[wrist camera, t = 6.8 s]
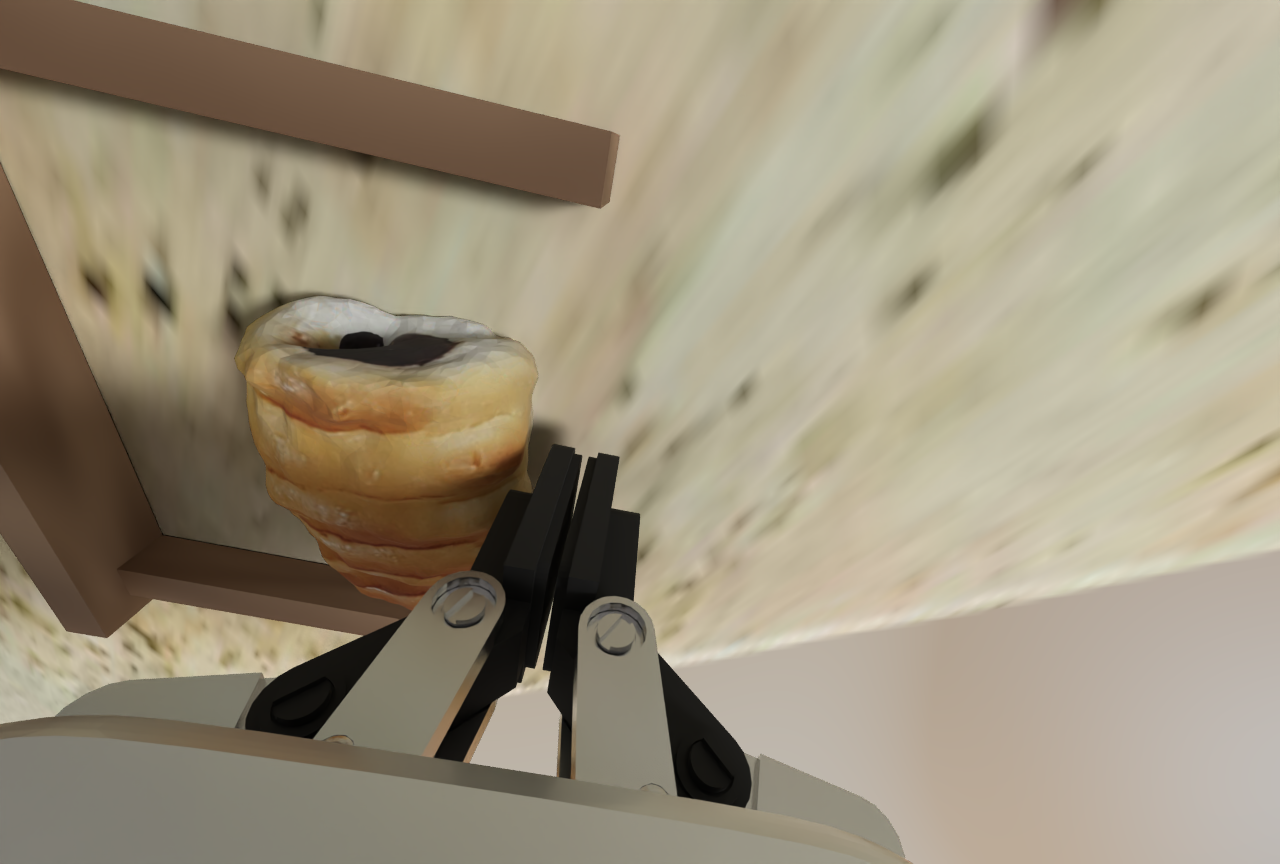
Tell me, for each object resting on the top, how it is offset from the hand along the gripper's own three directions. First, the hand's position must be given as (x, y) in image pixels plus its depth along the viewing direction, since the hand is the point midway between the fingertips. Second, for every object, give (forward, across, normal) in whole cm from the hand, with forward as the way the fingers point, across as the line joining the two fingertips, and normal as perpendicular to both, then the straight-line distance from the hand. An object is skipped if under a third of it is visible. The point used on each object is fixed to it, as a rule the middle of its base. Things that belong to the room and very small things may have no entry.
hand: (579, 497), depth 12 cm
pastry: (+2, +4, 0) cm, 5 cm away
